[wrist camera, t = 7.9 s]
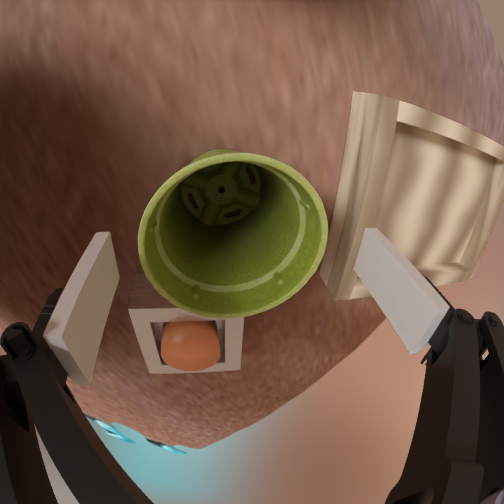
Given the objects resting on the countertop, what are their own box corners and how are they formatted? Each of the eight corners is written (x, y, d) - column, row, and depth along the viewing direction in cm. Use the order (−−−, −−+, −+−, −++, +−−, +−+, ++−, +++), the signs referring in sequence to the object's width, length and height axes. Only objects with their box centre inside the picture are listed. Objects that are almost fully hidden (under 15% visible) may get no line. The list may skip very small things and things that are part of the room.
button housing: (152, 339, 28) (149, 373, 24) (136, 273, 23) (127, 308, 20) (234, 336, 30) (240, 369, 26) (237, 269, 25) (245, 304, 21)
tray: (318, 273, 27) (334, 301, 24) (353, 91, 18) (382, 95, 14) (452, 262, 31) (470, 279, 27) (491, 142, 22) (515, 153, 18)
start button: (166, 346, 25) (165, 371, 23) (158, 310, 23) (156, 337, 20) (217, 344, 26) (220, 369, 24) (217, 307, 23) (220, 334, 21)
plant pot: (298, 213, 23) (343, 278, 16) (195, 259, 24) (197, 339, 16) (256, 105, 18) (295, 119, 10) (136, 164, 18) (99, 216, 11)
